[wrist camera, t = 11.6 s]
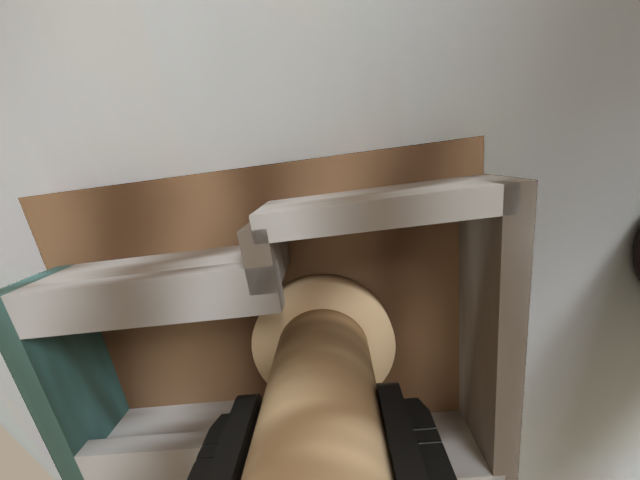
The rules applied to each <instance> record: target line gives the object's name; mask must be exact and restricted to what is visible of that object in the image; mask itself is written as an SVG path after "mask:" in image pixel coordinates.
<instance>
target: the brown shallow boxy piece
mask: <svg viewBox="0 0 640 480" xmlns="http://www.w3.org/2000/svg"><path fill="white" fill-rule="evenodd" d="M483 166H484V136H478V137H470V138H463V139H455V140H448V141H440V142H433V143H425V144H418V145H410V146H403V147H396V148H388V149H381V150H373V151H366V152H358V153H351V154H343V155H336V156H328V157H321V158H313V159H306V160H298V161H291V162H283V163H276V164H268V165H261V166H253V167H246V168H238V169H231V170H223V171H216V172H209V173H201V174H194V175H186V176H179V177H171V178H164V179H156V180H149V181H141V182H134V183H126V184H119V185H111V186H104V187H96V188H89V189H81V190H74V191H66V192H59V193H51V194H44V195H36V196H29V197H22V198H18V199H19V201H20V204H21V206H22V209H23V211H24V214H25V216H26V219H27V221H28V224H29V226H30V229H31V231H32V234H33V236H34V239H35V241H36V244H37V246H38V249H39V251H40V254H41V256H42V259H43V261H44V264H45V266H46V269H47V270H46V271H44V272H41V273H39V274H36V275H34V276H31V277H29V278H26V279H24V280H21V281H19V282H16V283H14V284H11V285H9V286H6V287H4V288H1V289H0V352H1V354H2V356H3V358H4V360H5V363H6V365H7V367H8V369H9V371H10V373H11V375H12V377H13V379H14V381H15V383H16V385H17V387H18V389H19V391H20V394H21V396H22V398H23V400H24V402H25V404H26V406H27V408H28V410H29V412H30V414H31V416H32V418H33V420H34V422H35V424H36V427H37V429H38V431H39V433H40V435H41V437H42V439H43V441H44V443H45V445H46V447H47V449H48V451H49V453H50V455H51V458H52V460H53V462H54V464H55V466H56V468H57V470H58V472H59V474H60V476H61V478H62V480H187V478H188V476H189V473H190V471H191V469H192V467H193V464H194V462H196V458H197V455H198V453H199V451H200V448H202V444H203V442H204V439H205V437H206V435H207V433H208V430H209V428H210V427H211V426H212V425H213V423H214V422H215V421H216V420H217V419H218V418H219V416H220V415H221V414H227V413H230V412H231V409H232V406H233V404H234V401H235V399H236V397H237V396H238V395H247V394H258V393H259V394H260V395H261V397H262V400H263V396H264V393H265V389H266V385H267V382H266V381H265V380H264V379H263V377H262V376H261V374H260V373H259V371H258V369H257V367H256V365H255V362H254V359H253V354H252V334H253V330H254V327H255V324H256V321H257V319H258V317H259V316H260V315H270V314H279V313H282V311H283V308H284V305H285V299H284V293H283V288H282V286H283V285H284V284H286V283H288V282H290V281H292V280H294V279H296V278H300V277H303V276H307V275H312V274H334V275H339V276H343V277H346V278H349V279H352V280H354V281H356V282H358V283H360V284H362V285H363V286H365V287H366V288H368V289H369V290H370V291H371V292H372V293H373V294H374V295H375V296H376V297H377V298H378V299H379V300H380V302H381V303H382V305H383V306H384V308H385V310H386V312H387V314H388V317H389V320H390V322H391V325H392V328H393V331H394V335H395V342H396V351H395V358H394V361H393V365H392V367H391V369H390V371H389V374H388V375H387V377H386V378H385V380H384V381H383V382H382V383H384V382H396V381H398V382H399V385H400V388H401V391H402V394H403V398H404V399H406V398H419V399H420V400H421V401H422V403H423V404H424V405H425V406H426V407H427V408H428V409H429V410H430V412H431V415H432V417H433V420H434V422H435V425H436V429H437V430H438V432H439V435H440V437H441V440H442V444H443V445H444V447H445V450H446V452H447V455H448V458H449V460H450V463H451V465H452V468H453V470H454V473H455V475H456V478H457V480H518V469H519V454H520V439H521V425H522V410H523V395H524V380H525V365H526V350H527V335H528V320H529V305H530V290H531V275H532V260H533V245H534V230H535V215H536V200H537V185H538V180H533V179H524V178H515V177H506V176H497V175H488V174H483Z"/></svg>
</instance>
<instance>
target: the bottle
mask: <svg viewBox="0 0 640 480" xmlns="http://www.w3.org/2000/svg"><path fill="white" fill-rule="evenodd" d="M633 264H634V267H635V270H636V273H637V277H638V280H639V281H640V230H639V232H638V235H637V237H636V239H635V244H634V257H633Z"/></svg>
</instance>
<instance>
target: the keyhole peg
mask: <svg viewBox="0 0 640 480" xmlns="http://www.w3.org/2000/svg"><path fill="white" fill-rule="evenodd" d="M282 288H283V293H284V299H285V305H284V308H283V311H282V313H279V314H270V315H260V316H259V317H258V319H257V321H256V324H255V327H254V330H253V334H252V354H253V359H254V362H255V365H256V367H257V369H258V371H259V373H260V374H261V376H262V377H263V379H264V380H265V381H266V382H267V385H266V389H265V393H264V396H263V400H262V404H261V407H260V411H259V415H258V418H257V422H256V426H255V429H254V433H253V437H252V440H251V444H250V447H249V451H248V455H247V458H246V462H245V466H244V469H243V473H242V477H241V480H395V477H394V472H393V468H392V463H391V458H390V453H389V448H388V443H387V438H386V433H385V428H384V424H383V419H382V414H381V409H380V404H379V399H378V394H377V388H376V383H382V382H383V381H384V380H385V378H386V377H387V375H388V374H389V371H390V369H391V367H392V365H393V361H394V358H395V351H396V342H395V335H394V331H393V328H392V325H391V322H390V320H389V317H388V314H387V312H386V310H385V308H384V306H383V305H382V303H381V302H380V300H379V299H378V298H377V297H376V296H375V295H374V294H373V293H372V292H371V291H370V290H369V289H368V288H366V287H365V286H363V285H362V284H360V283H358V282H356V281H354V280H352V279H349V278H346V277H343V276H339V275H334V274H312V275H307V276H303V277H300V278H296V279H294V280H292V281H290V282H288V283H286V284H284V285H283V286H282Z"/></svg>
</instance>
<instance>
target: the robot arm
mask: <svg viewBox="0 0 640 480" xmlns="http://www.w3.org/2000/svg"><path fill="white" fill-rule="evenodd" d="M376 388H377V394H378V399H379V404H380V409H381V414H382V419H383V424H384V428H385V433H386V438H387V443H388V448H389V453H390V458H391V463H392V468H393V472H394V477H395V480H457V478H456V475H455V473H454V470H453V468H452V465H451V463H450V460H449V458H448V455H447V452H446V450H445V447H444V445H443V444H442V440H441V437H440V435H439V432H438V430H437V429H436V425H435V422H434V420H433V417H432V415H431V412H430V410H429V409H428V408H427V407H426V406H425V405H424V404H423V403H422V401H421V400H420V399H419V398H406V399H404V398H403V394H402V391H401V388H400V385H399V382H398V381H396V382H384V383H376ZM261 404H262V397H261V395H260V394H259V393H258V394H247V395H238V396H237V397H236V399H235V401H234V404H233V406H232V409H231V412H230V413H227V414H221V415H220V416H219V418H218V419H217V420H216V421H215V422H214V423H213V425H212V426H211V427H210V428H209V430H208V433H207V435H206V437H205V439H204V442H203V444H202V448H200V451H199V453H198V455H197V458H196V462H194V464H193V467H192V469H191V471H190V473H189V476H188V478H187V480H241V477H242V473H243V469H244V466H245V462H246V458H247V455H248V451H249V447H250V444H251V440H252V437H253V433H254V429H255V426H256V422H257V418H258V415H259V411H260V407H261Z"/></svg>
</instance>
